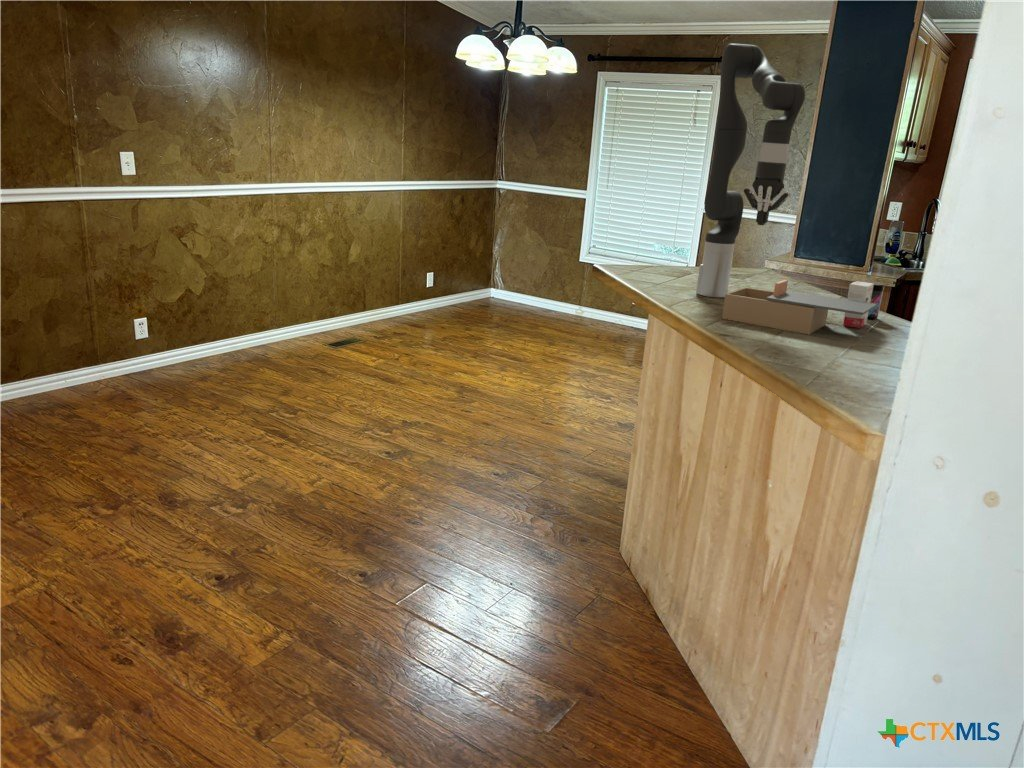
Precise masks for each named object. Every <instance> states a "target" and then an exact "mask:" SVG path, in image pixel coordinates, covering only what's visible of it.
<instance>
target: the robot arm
mask: <svg viewBox="0 0 1024 768" xmlns="http://www.w3.org/2000/svg"><path fill="white" fill-rule="evenodd" d="M721 57H722V58H721V63H720V65H721V66H720V82H719V83H720V85H719V101H718V102H719V104H718V112H717V117H716V118H717V119H716V126H715V133H714V134H715V135H714V142H713V143H714V144H713V154H712V160H711V166H710V167H711V169H710V174H709V179H708V184H707V187H706V188H707V189H706V194H705V197H704V214H705V215H706V217H707V218H708V220H710V221H715V222H716V221H717V224H716V225H715V227H713V228H712V229H710V230H709V231H707V232H706V234H705V241H704V247H703V257H702V264H700V265H699V267H698V276H697V284H696V293H695V294H696V295H701V296H704V297H709V298H725V294H727V293H729V286H730V279H731V272H732V265H733V259H734V258H733V257H734V251H735V244H736V239H737V237H738V235H739V233H740V229H741V225H742V224H741V223H742V218H743V214H744V199H743V196H742V194H741V193H740V192H739V191H736V190H728V188H729V187H728V186H729V179H730V175H731V173H732V171H733V169H734V167H735V165H736V164H737V162H738V161H739V159H740V157H741V155H742V153H743V152H744V149H745V147H746V140H747V133H748V121H747V118H746V116H745V113H744V111H743V108H742V107H741V105H740V103H739V100H738V97H737V92H736V79H751V85H752V87H753V89H754V90H755V91H756V92H757V93H758V94H759V95H760V97H761V100H762V105H763V106H764V107H765V108H766V109H769V110H770V111H771V110H772V111H784V112H783V114H782V115H781V116H780V118H777V119H776V118H775V119H770V120H768V121H766V122H765V125H764V129H763V135H762V142H761V145H760V149H759V154H758V159H757V166H756V171H755V178H754V181H753V182H752V185H751V186H749V187H748V188H744V190H743V193H744V195H745V197H746V198H747V200H748V202H749V204H750V207H751V208H753V209H754V210H756V211H757V213H756V219H755V223H757V226H765V225H766V224H767V223H768V220H769V216H770V212H771V211H776V210H777V209H778V208H780V207H781V206H782V204H784V203H785V202H786V201H787V200H788V199H789V198H790V197H791V193H790V192H787V190H786V189H785V185H784V180H785V173H786V171H787V163H788V161H789V151H790V150H789V149H790V142H791V136H792V131H793V128H794V125H795V123H796V120H797V117H798V116H799V113H800V111H801V109H802V107H803V105H804V102H805V99H806V90H805V88H804V86H803V85H802V84H801V83H798V82H788V81H786V78H785V77H784V76H783V75H782V74H781V73H780V72H778V71H777V70H776V69H775V68H774V67H772V65H771V63H770V61H769V60H768V57H767V56H766V55H765V53H764V51H763V50H762V48H760V47H759V46H758V45H756V44H755V45H754V44H746V43H743V44H742V43H728V44H727V45H726V47H725V48H724V50H723V53H722V56H721ZM755 194H756V196H757V199H756V197H755ZM777 196H779V198H778V199H777V200H775V202H774V199H775V198H777ZM773 202H774V203H773Z"/></svg>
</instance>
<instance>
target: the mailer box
mask: <svg viewBox="0 0 1024 768" xmlns="http://www.w3.org/2000/svg"><path fill="white" fill-rule="evenodd" d="M771 295H774V291H771V290H764V289H758V288H752V287H745V286H744V287H742V288H739V289H737V290H733V291H730V292H728V293H727V294H725V297H724V301H723V308H722V315H721V319H722V320H727V319H728V320H729V321H732V320H733V322H738V321H739V322H738V323H743V324H749V325H754V324H755V325H756V326H761V327H765V328H766V327H767V328H773V329H777V330H781V331H782V330H783V331H789V332H793V333H799V334H806V335H811V334H812V333H814V332H816V331H817V330H819V329H821V328H823V327H824V326H826V324H827V318H828V314H829V310H828V309H822V308H816V307H809V306H803V305H797V304H791V303H784V302H778V301H772V300H766V297H769V296H771Z"/></svg>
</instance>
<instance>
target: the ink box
mask: <svg viewBox="0 0 1024 768" xmlns="http://www.w3.org/2000/svg"><path fill="white" fill-rule="evenodd" d="M873 285H874V283H867V282H860V281H854V282H851V283H850V284H849V286H848V292H847V293H848V294H847V298H846V299H847V300H854V301H861V302H867V303H870V302H871V296H872V291H873ZM868 312H869V311H868ZM868 312H867V313H865V314H864V315H859V314H853V313H847V312H844V315H843V316H844V317H843V323H842V326H843V327H850V328H858V329H861V328H862V327H864V326H865V325H866V324H867V323H868V320H867V318H868Z"/></svg>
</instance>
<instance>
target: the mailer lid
mask: <svg viewBox="0 0 1024 768" xmlns="http://www.w3.org/2000/svg"><path fill="white" fill-rule="evenodd" d="M788 284H789V280H787V279H783V280H780V281H777V282H775V284H774V290H773V292H774V295H771V296H769V297H766V300H772V301H778V302H784V303H791V304H797V305H803V306H809V307H816V308H822V309H828V311H833V312H834V311H835V312H841V313H845V312H847V313H853V314H859V315H864V314H865V313H867V312H868V311H870V310H871V309H873V308H875V307H876V306H877V304H874V303H867V302H861V301H854V300H847V298H839V297H832V296H826V295H820V294H814V293H813V294H812V293H805V292H801V291H792V290H787V288H788Z"/></svg>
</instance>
